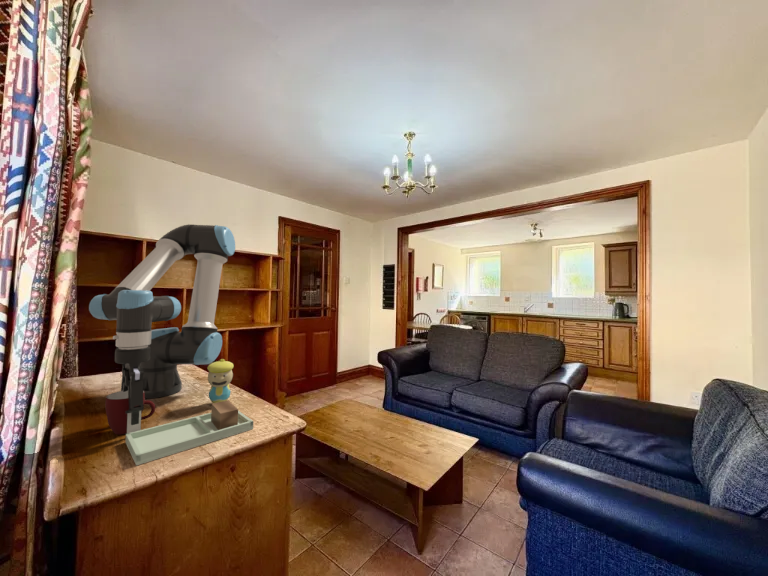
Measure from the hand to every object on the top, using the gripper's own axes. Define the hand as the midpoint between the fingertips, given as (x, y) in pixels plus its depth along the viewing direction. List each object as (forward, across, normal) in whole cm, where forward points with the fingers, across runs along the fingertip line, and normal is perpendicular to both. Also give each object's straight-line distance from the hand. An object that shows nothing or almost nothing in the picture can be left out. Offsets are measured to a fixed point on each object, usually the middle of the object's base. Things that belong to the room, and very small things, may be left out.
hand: (130, 429), depth 84 cm
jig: (0, +14, +11) cm, 18 cm away
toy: (0, -4, +24) cm, 24 cm away
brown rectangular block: (-1, +15, +19) cm, 24 cm away
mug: (0, 0, 0) cm, 0 cm away
